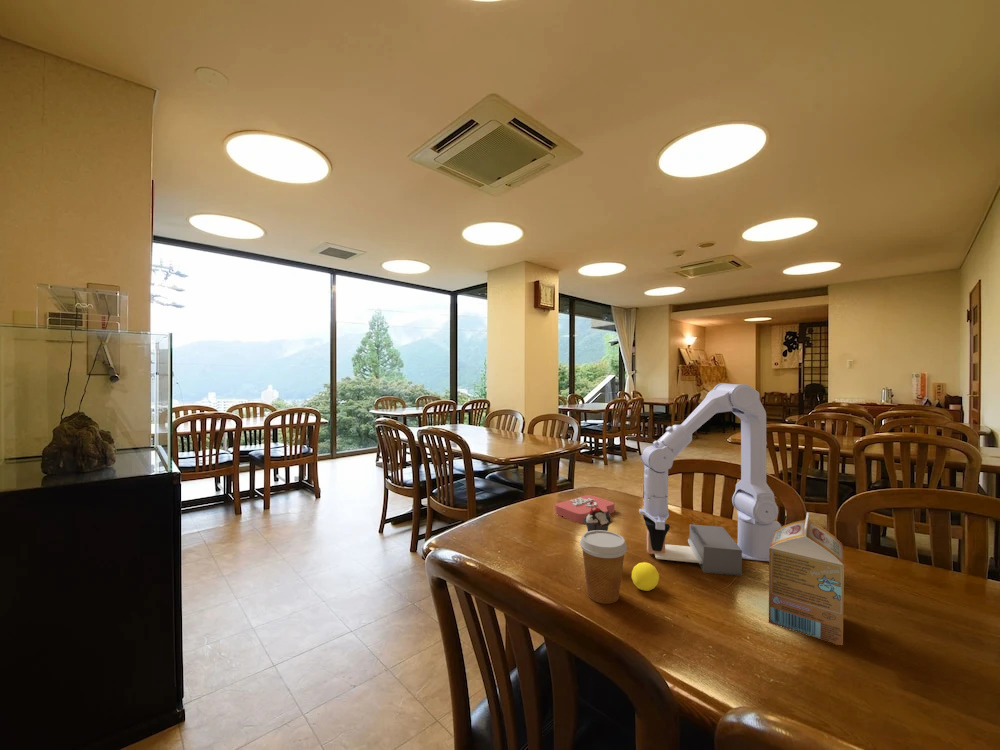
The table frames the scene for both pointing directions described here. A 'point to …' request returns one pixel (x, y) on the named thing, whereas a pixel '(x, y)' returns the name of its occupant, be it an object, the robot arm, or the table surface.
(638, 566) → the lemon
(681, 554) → the peach block on base
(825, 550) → the milk carton
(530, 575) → the table surface
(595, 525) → the sundae
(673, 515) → the table surface
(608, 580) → the disposable coffee cup
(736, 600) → the table surface
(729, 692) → the table surface
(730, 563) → the dispenser
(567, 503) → the plaque
